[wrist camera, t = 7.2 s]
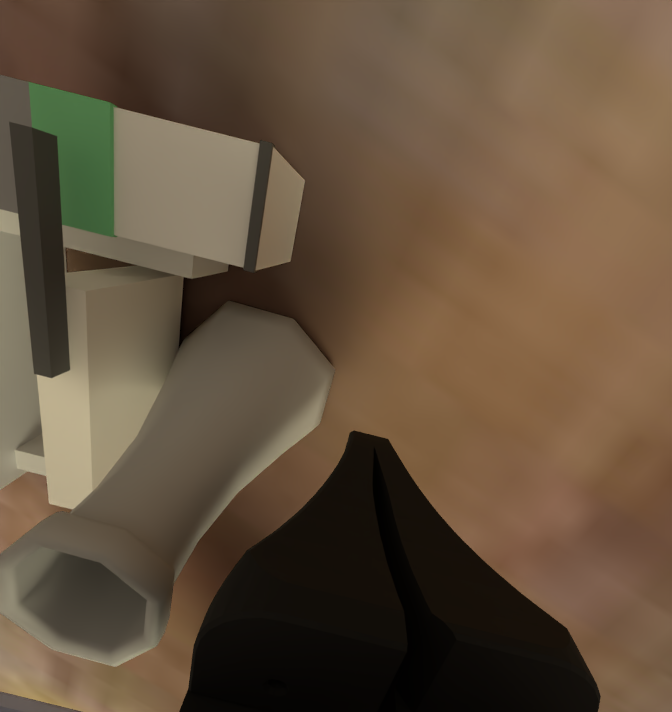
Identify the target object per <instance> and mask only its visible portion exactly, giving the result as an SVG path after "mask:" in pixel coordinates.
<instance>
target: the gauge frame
mask: <svg viewBox="0 0 672 712" xmlns="http://www.w3.org/2000/svg"><path fill="white" fill-rule="evenodd" d="M9 122H13V123H17V124H21V125H24V126H28V127H32V128H35V129H38V130H41V131H44V132H47V133H50V134H52V135H55V136H57V143H58V161H59V179H60V197H61V214H62V232H63V250H64V268H65V273H67V267H66V249H65V247H67V248H71V249H75V250H78V251H82V252H86V253H90V254H94V255H98V256H102V257H106V258H110V259H114V260H118V261H122V262H126V263H130V264H134V265H138V266H142V267H146V268H150V269H154V270H158V271H162V272H166V273H170V274H174V275H178V276H182V277H186V278H190V279H194V278H199V277H203V276H208V275H213V274H218V273H222V272H227V271H228V266H229V264H231V265H235V266H239V267H243V270H244V271H248V272H252V273H255V272H257V270H260V269H264V268H268V267H272V266H276V265H280V264H284V263H287V262H291V256H292V251H293V245H294V240H295V234H296V228H297V223H298V217H299V212H300V206H301V201H302V195H303V189H304V184H305V180H304V179H303V178H302V177H301V176H300V175H299V174H298V173H297V171H296V170H295V169H294V168H293V167H292V166H291V165H290V164H289V163H288V162H287V161H286V160H285V159H284V158H283V157H282V156H281V155H280V153H279V152H278V151H277V150H276V149H275V146H274V144H273V143H270V142H266V141H262V140H260V144H259V143H256V142H252V141H248V140H244V139H240V138H236V137H232V136H228V135H224V134H220V133H216V132H212V131H208V130H204V129H200V128H196V127H192V126H188V125H184V124H180V123H176V122H172V121H168V120H164V119H160V118H156V117H152V116H148V115H144V114H140V113H136V112H132V111H128V110H124V109H121V108H117V106H116V105H114V104H112V103H110V102H107V101H103V100H99V99H95V98H91V97H87V96H83V95H79V94H75V93H71V92H67V91H63V90H59V89H55V88H51V87H47V86H43V85H39V84H35V83H31V82H27V81H23V80H19V79H15V78H11V77H7V76H3V75H0V490H1V489H2V488H4V487H5V486H7V485H8V484H10V483H11V482H13V481H14V480H16V479H17V478H19V477H20V476H22V475H23V474H25V473H26V472H27V471H29V472H33V473H37V474H41V475H45V476H46V467H45V456H44V446H43V435H42V425H41V414H40V404H39V393H38V383H37V375H36V374H34V369H33V359H32V349H31V339H30V329H29V319H28V308H27V298H26V288H25V278H24V268H23V258H22V248H21V238H20V228H19V218H18V207H17V197H16V187H15V177H14V167H13V157H12V147H11V137H10V127H9Z"/></svg>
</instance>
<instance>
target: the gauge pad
mask: <svg viewBox="0 0 672 712" xmlns="http://www.w3.org/2000/svg"><path fill="white" fill-rule="evenodd" d="M9 127H10V137H11V147H12V157H13V167H14V177H15V187H16V197H17V207H18V218H19V228H20V238H21V248H22V258H23V268H24V278H25V288H26V298H27V308H28V319H29V329H30V339H31V349H32V359H33V369H34V374H36V375H37V383H38V393H39V404H40V414H41V425H42V435H43V446H44V456H45V467H46V477H47V487H48V498H49V504H53V505H57V506H61V507H65V508H69V509H74V508H75V507H76V506H77V505H78V504H80V503H81V502H82V501H83V500H84V499H85V498H86V497H87V496H88V495H89V494H90V493H91V492H92V491H93V490H94V489H96V488H97V487H98V485H99V484H100V483H101V481H102V480H103V479H104V478H105V476H106V475H107V474H108V472H109V471H110V470H111V469H112V467H113V466H114V465H115V464H116V462H117V461H118V460H119V458H120V457H121V456H122V455H123V453H124V452H125V451H126V449H127V448H128V447H129V446H130V444H131V443H132V442H133V440H134V439H135V438H136V437H137V435H138V433H139V431H140V429H141V427H142V425H143V423H144V421H145V419H146V417H147V415H148V413H149V411H150V409H151V407H152V406H153V404H154V402H155V400H156V398H157V396H158V394H159V392H160V390H161V388H162V386H163V384H164V382H165V380H166V377H167V375H168V373H169V371H170V368H171V366H172V364H173V361H174V359H175V357H176V354H177V352H178V350H179V337H180V322H181V308H182V294H183V279H184V277H182V276H178V275H174V274H170V273H166V272H162V271H158V270H154V269H150V268H146V267H142V266H128V267H118V268H108V269H98V270H88V271H78V272H68V273H65V268H64V250H63V232H62V214H61V197H60V179H59V161H58V143H57V136H55V135H52V134H50V133H47V132H44V131H41V130H38V129H35V128H32V127H28V126H24V125H21V124H17V123H13V122H9Z"/></svg>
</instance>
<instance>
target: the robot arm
mask: <svg viewBox="0 0 672 712" xmlns="http://www.w3.org/2000/svg"><path fill="white" fill-rule="evenodd" d="M599 703H600V693H599V690H598V687H597V684H596V682H595V680H594V678H593V676H592V674H591V673H590V671H589V669H588V667H587V665H586V663H585V661H584V659H583V657H582V656H581V654H580V652H579V650H578V648H577V646H576V644H575V642H574V640H573V639H572V637H571V635H570V633H569V631H568V630H567V628H566V627H564V626H563V625H562V624H560V623H559V622H558V621H556V620H555V619H554V618H552V617H551V616H550V615H549V614H547V613H546V612H545V611H543V610H542V609H541V608H539V607H538V606H537V605H535V604H534V603H533V602H532V601H530V600H529V599H528V598H526V597H525V596H524V595H522V594H521V593H520V592H519V591H518V590H516V589H515V588H514V587H513V586H512V585H510V584H509V583H508V582H507V581H506V580H505V579H503V578H502V577H501V576H500V575H499V574H498V573H496V572H495V571H494V570H493V569H492V568H491V567H490V566H489V565H488V564H487V563H485V562H484V561H483V560H482V559H481V558H480V557H479V556H478V555H477V554H476V553H475V552H474V551H473V550H472V549H471V548H470V547H469V546H468V545H467V544H466V543H465V542H464V541H463V540H462V539H461V538H460V537H459V536H458V535H457V534H456V533H455V532H454V531H453V530H452V528H451V527H450V526H449V525H448V524H447V523H446V522H445V520H444V519H443V518H442V517H441V516H440V515H439V514H438V512H437V511H436V510H435V509H434V507H433V506H432V505H431V504H430V502H429V501H428V500H427V498H426V497H425V496H424V494H423V493H422V492H421V490H420V489H419V488H418V486H417V485H416V483H415V482H414V480H413V479H412V477H411V476H410V474H409V473H408V471H407V470H406V468H405V466H404V465H403V463H402V462H401V460H400V458H399V457H398V455H397V453H396V452H395V450H394V448H393V447H392V445H391V443H390V442H389V440H388V439H386V438H382V437H378V436H374V435H370V434H366V433H362V432H357V431H352V432H350V435H349V438H348V442H347V445H346V449H345V452H344V454H343V456H342V458H341V460H340V461H339V463H338V465H337V466H336V468H335V469H334V471H333V472H332V474H331V475H330V477H329V478H328V479H327V481H326V482H325V483H324V484H323V486H322V487H321V488H320V489H319V490H318V492H317V493H316V494H315V495H314V496H313V497H312V498H311V499H310V500H309V501H308V502H307V503H306V504H305V506H304V507H303V508H301V509H300V510H299V511H298V512H297V513H296V514H295V515H294V516H293V517H291V518H290V519H289V520H288V521H287V522H286V523H284V524H283V525H282V526H281V527H280V528H278V529H277V530H276V531H274V532H273V533H272V534H270V535H269V536H268V537H266V538H265V539H263V540H262V541H260V542H259V543H257V544H256V545H254V546H253V547H251V548H250V549H249V550H247V551H246V552H245V554H244V555H243V556H242V558H241V559H240V560H239V562H238V563H237V564H236V566H235V567H234V568H233V570H232V571H231V572H230V574H229V575H228V577H227V578H226V580H225V581H224V583H223V584H222V586H221V587H220V589H219V590H218V592H217V594H216V596H215V597H214V599H213V601H212V603H211V605H210V607H209V609H208V611H207V613H206V616H205V618H204V620H203V623H202V625H201V628H200V630H199V633H198V635H197V638H196V641H195V644H194V648H193V656H192V664H191V672H190V680H189V689H188V691H187V694H186V696H185V699H184V701H183V704H182V706H181V709H180V711H179V712H598V709H599ZM0 712H81V711H77V710H73V709H69V708H65V707H61V706H57V705H53V704H49V703H44V702H40V701H36V700H32V699H28V698H24V697H20V696H16V695H12V694H8V693H4V692H0Z"/></svg>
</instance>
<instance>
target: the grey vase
mask: <svg viewBox="0 0 672 712" xmlns="http://www.w3.org/2000/svg"><path fill="white" fill-rule="evenodd" d="M334 373H335V368H334V367H333V366H332V365H331V364H330V362H329V361H328V360H327V359H326V357H325V356H324V355H323V354H322V353H321V351H320V350H319V349H318V348H317V347H316V345H315V344H314V343H313V342H312V340H311V339H310V338H309V337H308V336H307V334H306V333H305V332H304V331H303V329H302V328H301V327H300V326H299V325H298V323H297V322H296V321H295V320H294V319H293V318H289V317H285V316H282V315H278V314H275V313H271V312H268V311H264V310H261V309H257V308H253V307H250V306H246V305H243V304H239V303H236V302H232V301H229V300H228V301H227V302H226V303H225V304H224V305H223V306H221V307H220V308H219V309H218V310H217V311H216V312H215V313H213V314H212V315H211V316H210V317H209V318H208V319H207V320H205V321H204V322H203V323H202V324H201V325H200V326H199V327H197V328H196V329H195V330H194V331H193V332H192V333H191V334H189V335H188V336H187V337H186V338H185V339H184V340H183V342H182V344H181V346H180V348H179V350H178V352H177V354H176V357H175V359H174V361H173V364H172V366H171V368H170V371H169V373H168V375H167V377H166V380H165V382H164V384H163V386H162V388H161V390H160V392H159V394H158V396H157V398H156V400H155V402H154V404H153V406H152V407H151V409H150V411H149V413H148V415H147V417H146V419H145V421H144V423H143V425H142V427H141V429H140V431H139V433H138V435H137V437H136V438H135V439H134V440H133V442H132V443H131V444H130V446H129V447H128V448H127V449H126V451H125V452H124V453H123V455H122V456H121V457H120V458H119V460H118V461H117V462H116V464H115V465H114V466H113V467H112V469H111V470H110V471H109V472H108V474H107V475H106V476H105V478H104V479H103V480H102V481H101V483H100V484H99V485H98V487H97V488H96V489H94V490H93V491H92V492H91V493H90V494H89V495H88V496H87V497H86V498H85V499H84V500H83V501H82V502H81V503H80V504H78V505H77V506H76V507H75V508H74V509H73V510H72V511H71V512H70V513H67V512H64V511H61V512H57V513H55V514H53V515H51V516H49V517H48V518H46V519H44V520H43V521H41V522H40V523H38V524H37V525H36V526H35V527H33V528H32V529H31V530H30V531H28V532H27V533H26V534H25V535H23V536H22V537H21V538H19V539H18V540H17V541H16V542H14V543H13V544H12V545H11V546H9V547H8V548H7V549H6V550H4V551H3V552H2V553H1V554H0V613H1V614H2V615H3V616H5V617H6V618H8V619H9V620H11V621H12V622H13V623H15V624H16V625H18V626H19V627H20V628H22V629H23V630H25V631H26V632H27V633H29V634H30V635H32V636H33V637H35V638H36V639H37V640H39V641H40V642H42V643H43V644H44V645H46V646H47V647H49V648H50V649H52V650H55V651H58V652H62V653H66V654H69V655H73V656H77V657H80V658H84V659H88V660H92V661H95V662H99V663H103V664H106V665H110V666H114V667H116V666H118V665H120V664H122V663H124V662H126V661H128V660H130V659H132V658H134V657H136V656H138V655H140V654H142V653H144V652H146V651H148V650H150V649H152V648H154V647H156V646H157V645H158V643H159V641H160V640H161V638H162V636H163V634H164V633H165V630H166V626H167V623H168V620H169V616H170V608H171V601H172V593H173V585H174V582H175V581H176V579H177V577H178V575H179V574H180V572H181V570H182V569H183V567H184V565H185V563H186V562H187V560H188V558H189V556H190V555H191V553H192V551H193V550H194V548H195V546H196V544H197V543H198V541H199V540H200V539H201V537H202V536H203V535H204V534H205V532H206V531H207V530H208V529H209V528H210V526H211V525H212V524H213V523H214V521H215V520H216V519H217V518H218V516H219V515H220V514H221V513H222V511H223V510H224V509H225V508H226V507H227V505H228V504H229V503H230V502H231V500H232V499H233V498H234V497H235V495H236V494H237V493H238V492H239V491H240V490H242V489H243V488H244V487H245V486H246V485H247V484H248V483H250V482H251V481H252V480H253V479H254V478H255V477H256V476H258V475H259V474H260V473H261V472H262V471H263V470H264V469H266V468H267V467H268V466H269V465H270V464H271V463H272V462H274V461H275V460H276V459H277V458H278V457H279V456H280V455H282V454H283V453H284V452H285V451H287V450H288V449H289V448H290V447H292V446H293V445H294V444H296V443H297V442H298V441H299V440H301V439H302V438H303V437H304V436H306V435H307V434H308V433H310V432H311V431H312V430H313V429H314V428H315V427H317V426H318V425H319V424H320V422H321V418H322V415H323V411H324V408H325V404H326V401H327V397H328V394H329V390H330V387H331V383H332V380H333V376H334Z"/></svg>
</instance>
